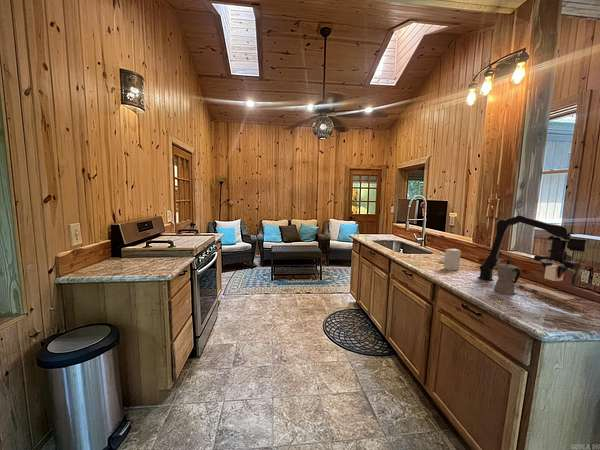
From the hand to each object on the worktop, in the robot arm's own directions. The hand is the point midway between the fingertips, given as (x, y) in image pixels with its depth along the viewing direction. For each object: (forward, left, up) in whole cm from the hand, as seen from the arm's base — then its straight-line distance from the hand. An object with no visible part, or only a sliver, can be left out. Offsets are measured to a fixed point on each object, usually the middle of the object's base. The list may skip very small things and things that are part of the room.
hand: (553, 276), depth 146 cm
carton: (0, 0, -1) cm, 1 cm away
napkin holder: (-5, +69, -11) cm, 70 cm away
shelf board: (-2, +3, -10) cm, 11 cm away
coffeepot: (-23, +7, -11) cm, 26 cm away
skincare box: (-17, +52, -11) cm, 56 cm away
